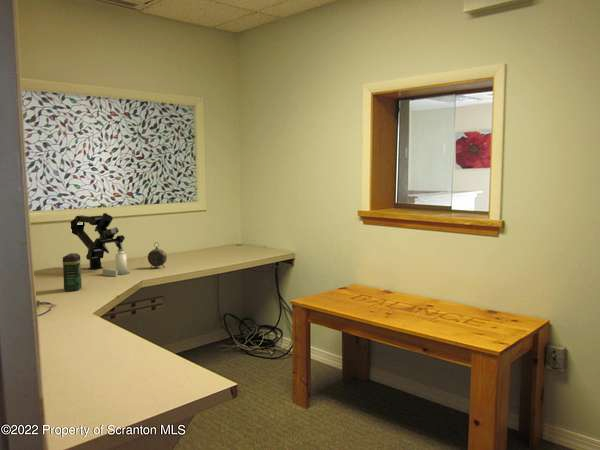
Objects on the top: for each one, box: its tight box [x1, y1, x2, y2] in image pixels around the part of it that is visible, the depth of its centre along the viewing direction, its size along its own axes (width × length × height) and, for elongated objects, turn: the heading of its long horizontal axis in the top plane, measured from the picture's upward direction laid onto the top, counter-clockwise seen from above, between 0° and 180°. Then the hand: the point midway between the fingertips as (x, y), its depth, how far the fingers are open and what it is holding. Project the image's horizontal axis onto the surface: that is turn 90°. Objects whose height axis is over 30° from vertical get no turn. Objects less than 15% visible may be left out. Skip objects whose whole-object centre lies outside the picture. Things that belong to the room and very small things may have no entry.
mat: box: [118, 270, 131, 276], centre depth 304 cm, size 9×9×1 cm
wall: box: [101, 268, 119, 278], centre depth 298 cm, size 11×1×4 cm, turn 62°
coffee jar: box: [62, 252, 83, 292], centre depth 263 cm, size 10×8×19 cm
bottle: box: [115, 248, 128, 274], centre depth 304 cm, size 6×6×14 cm
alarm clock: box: [147, 242, 168, 269], centre depth 320 cm, size 11×5×16 cm, turn 84°
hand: (115, 251), depth 306 cm, fingers open, 9 cm apart
